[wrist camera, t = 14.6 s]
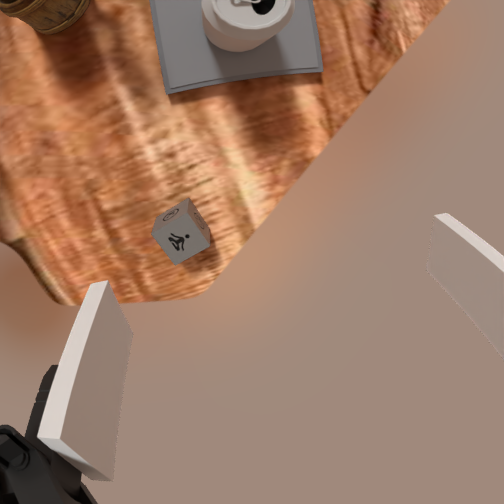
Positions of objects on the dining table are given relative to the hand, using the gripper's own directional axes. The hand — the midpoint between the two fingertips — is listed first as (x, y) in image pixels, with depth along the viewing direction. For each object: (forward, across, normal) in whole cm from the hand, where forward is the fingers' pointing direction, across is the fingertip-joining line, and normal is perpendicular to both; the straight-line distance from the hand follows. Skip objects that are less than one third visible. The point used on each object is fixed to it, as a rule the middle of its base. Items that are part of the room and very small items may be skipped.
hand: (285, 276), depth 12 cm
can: (+27, +3, +14) cm, 31 cm away
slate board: (+29, +3, +14) cm, 32 cm away
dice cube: (+29, -8, -9) cm, 31 cm away
